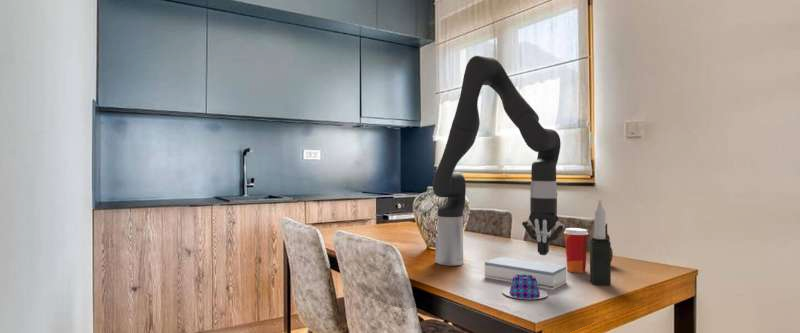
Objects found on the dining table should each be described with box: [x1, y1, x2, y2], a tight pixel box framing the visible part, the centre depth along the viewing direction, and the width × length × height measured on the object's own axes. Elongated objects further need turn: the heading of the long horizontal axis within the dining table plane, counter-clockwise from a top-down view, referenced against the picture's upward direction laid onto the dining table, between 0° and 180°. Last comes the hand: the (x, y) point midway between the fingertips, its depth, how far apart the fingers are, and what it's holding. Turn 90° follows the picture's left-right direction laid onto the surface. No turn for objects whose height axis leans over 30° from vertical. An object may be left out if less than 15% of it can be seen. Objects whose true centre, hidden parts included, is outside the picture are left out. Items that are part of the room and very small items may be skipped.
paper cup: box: [563, 227, 589, 274], centre depth 149 cm, size 8×8×14 cm
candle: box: [589, 199, 612, 287], centre depth 133 cm, size 5×5×25 cm
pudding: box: [502, 274, 548, 300], centre depth 122 cm, size 12×12×5 cm
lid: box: [484, 256, 567, 275], centre depth 137 cm, size 22×10×1 cm, turn 49°
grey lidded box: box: [484, 264, 567, 291], centre depth 137 cm, size 22×10×4 cm, turn 49°
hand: (543, 254), depth 131 cm, fingers closed
